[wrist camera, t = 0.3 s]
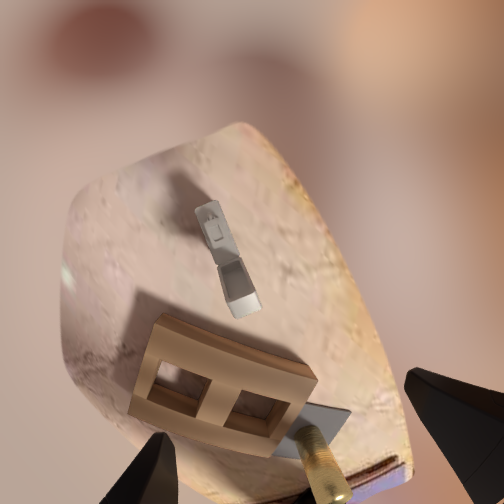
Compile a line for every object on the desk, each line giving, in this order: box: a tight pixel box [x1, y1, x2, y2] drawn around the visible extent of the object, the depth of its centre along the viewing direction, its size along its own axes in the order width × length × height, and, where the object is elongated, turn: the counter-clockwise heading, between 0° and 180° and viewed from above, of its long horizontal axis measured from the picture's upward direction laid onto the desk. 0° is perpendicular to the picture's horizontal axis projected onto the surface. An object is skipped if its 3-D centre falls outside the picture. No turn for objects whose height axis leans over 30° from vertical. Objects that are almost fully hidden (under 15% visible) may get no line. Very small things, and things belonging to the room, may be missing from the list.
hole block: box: [128, 313, 318, 458], centre depth 21 cm, size 10×14×3 cm
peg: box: [294, 425, 353, 504], centre depth 19 cm, size 3×3×10 cm
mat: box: [272, 403, 351, 459], centre depth 24 cm, size 8×7×1 cm
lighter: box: [195, 200, 262, 319], centre depth 18 cm, size 7×2×8 cm, turn 22°
